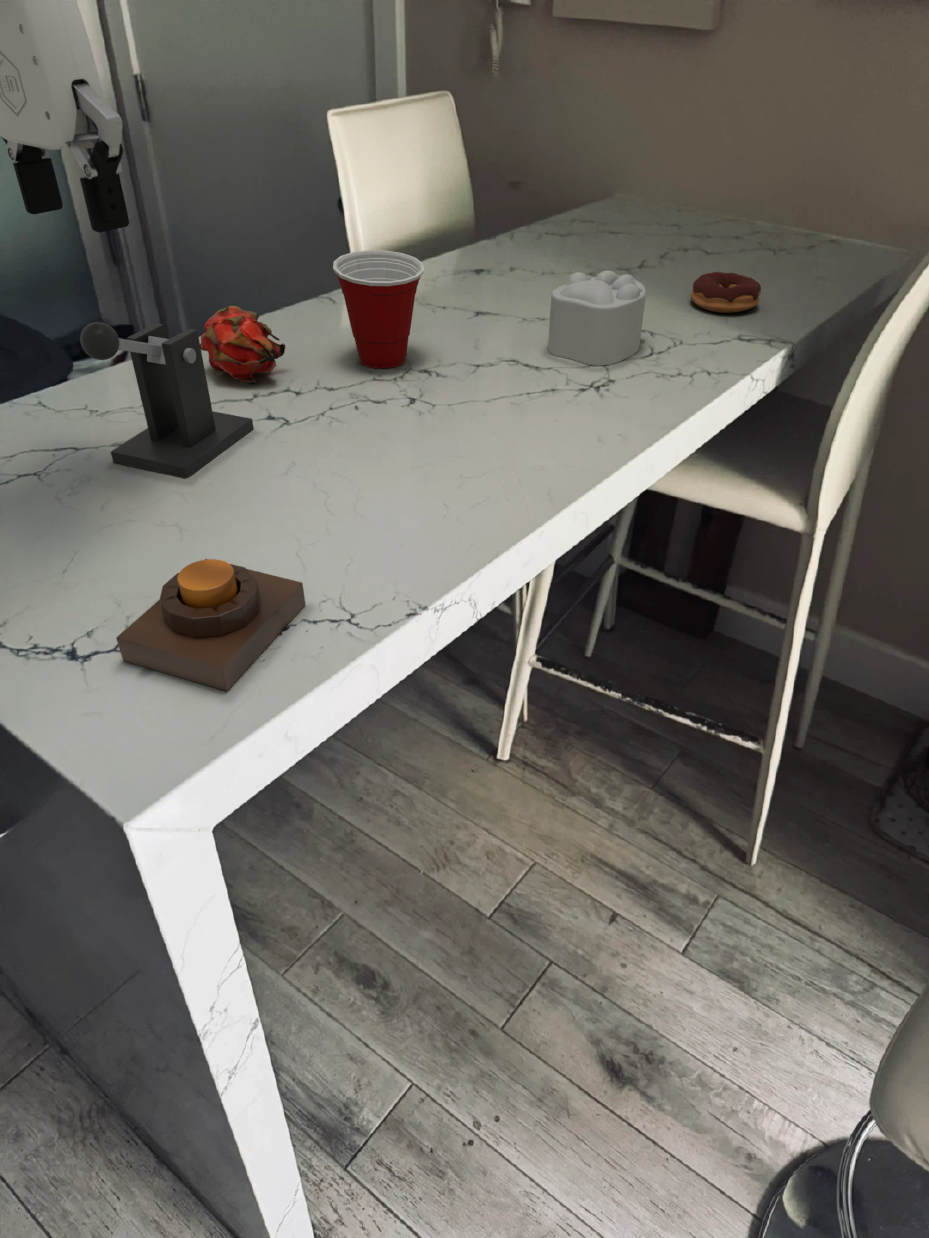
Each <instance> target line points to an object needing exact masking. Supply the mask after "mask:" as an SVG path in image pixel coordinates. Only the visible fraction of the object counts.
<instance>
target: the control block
mask: <svg viewBox="0 0 929 1238" xmlns="http://www.w3.org/2000/svg"><path fill="white" fill-rule="evenodd" d="M207 559H208V558H205V559H204V560H207ZM229 564H230V565H231V566H232V567H233V570H234V574H235V580H236V585H237V593H236V596H235V597H234V598H233V599H232V600H231V601H229V602H227V603H224V604H222V605H219V606H217V607H211V608H199V609H197V608H193V607H190V606H187V605H186V604H185V603H184V602H183V600H182V597H181V593H180V589H179V585H178V580H177V578H178V574H179V572H177V573H176V574H174V575H173V576H172V577H171V578H170V579H169V580H168V581H167V582H165V583H164V584H163V585H162V586H161V587H162V588H161V591H160V596H159V599H158V600H157V601H156V602H154V603H153V604H152V605H151V606H150V607H149V608H148V609H147V610H145V611H144V612H143V613H142V614H140V616H139V617H137V618H136V620H134V621H133V622H132V623H130V625H128V626H127V627H126V628H125V629H124V630H123V631H122V632H121V633H119V634H118V635H116V638H115V639H116V642H117V645H118V649H119V653H120V655H121V658H122V661H123V662H126V663H130V664H132V665H133V664H134V665H137V666H140V667H144V668H147V669H150V670H153V671H157V672H160V673H164V674H167V675H170V676H174V677H177V678H181V679H184V680H188V681H190V682H195V683H198V684H201V685H204V686H207V687H211V688H215V689H218V690H221V691H225V692H228V691H229V690H230V689H231V688H232V687H233V685H235V684H236V682H237V681H238V680H239V679H240V678H241V677H242V676H243V674H244V673H245V672H246V671H247V670H248V669H249V668H250V667H251V666H252V664H253V663H254V662H255V661H256V660H257V659H258V658H259V657H260V656H261V655H262V653H264V652H265V650H266V649H267V648H268V647H269V645H271V643H273V641H275V639H276V638H277V637H278V636H279V635H280V634H281V633H282V631H283V630H284V629H285V628H286V627H287V626H288V625H289V624H290V623H291V622H292V621H293V619H294V618H296V616H297V615H299V613H300V612H301V610H303V608H304V607H305V606H306V598H305V592H304V591H305V590H304V583H303V581H298V580H294V579H290V578H285V577H282V576H279V575H273V574H271V573H270V574H269V573H265V572H261V571H257V570H253V569H249V568H246V567H245V566H240V565H236V564H232V563H229Z"/></svg>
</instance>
